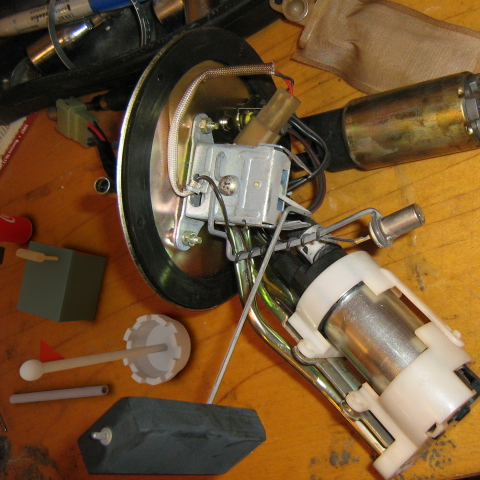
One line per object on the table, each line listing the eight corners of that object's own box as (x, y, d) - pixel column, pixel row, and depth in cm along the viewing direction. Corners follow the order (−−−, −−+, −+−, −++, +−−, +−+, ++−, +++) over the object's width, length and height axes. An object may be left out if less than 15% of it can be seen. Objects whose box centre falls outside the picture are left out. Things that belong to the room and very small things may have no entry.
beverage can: (27, 212, 110) (-26, 203, 99) (38, 230, 108) (-15, 224, 97) (12, 230, 111) (-42, 224, 100) (23, 249, 109) (-31, 244, 98)
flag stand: (206, 351, 88) (71, 380, 60) (163, 394, 91) (14, 440, 63) (171, 299, 92) (29, 304, 64) (131, 341, 95) (-22, 363, 67)
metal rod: (109, 393, 96) (101, 395, 94) (18, 402, 105) (9, 404, 103) (108, 384, 96) (100, 386, 94) (17, 393, 105) (9, 395, 103)
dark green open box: (65, 248, 104) (32, 245, 97) (106, 257, 100) (75, 255, 92) (53, 307, 104) (20, 309, 97) (94, 319, 99) (62, 322, 92)
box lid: (33, 241, 97) (7, 238, 92) (76, 250, 92) (50, 248, 87) (19, 309, 96) (-8, 310, 91) (62, 322, 92) (35, 324, 87)
